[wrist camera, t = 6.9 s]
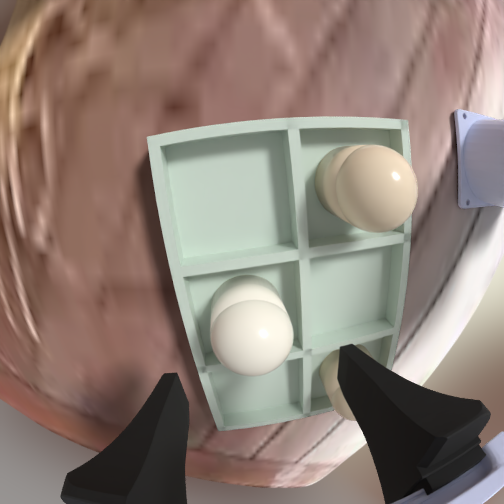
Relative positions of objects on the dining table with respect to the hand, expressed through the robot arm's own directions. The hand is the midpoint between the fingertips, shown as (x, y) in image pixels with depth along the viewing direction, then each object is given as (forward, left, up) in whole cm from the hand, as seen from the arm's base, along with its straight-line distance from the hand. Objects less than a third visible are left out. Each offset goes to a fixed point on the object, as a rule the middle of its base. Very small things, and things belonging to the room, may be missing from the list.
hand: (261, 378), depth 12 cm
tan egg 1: (-7, -7, -7) cm, 12 cm away
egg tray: (-3, 0, -7) cm, 8 cm away
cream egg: (0, 0, -7) cm, 7 cm away
